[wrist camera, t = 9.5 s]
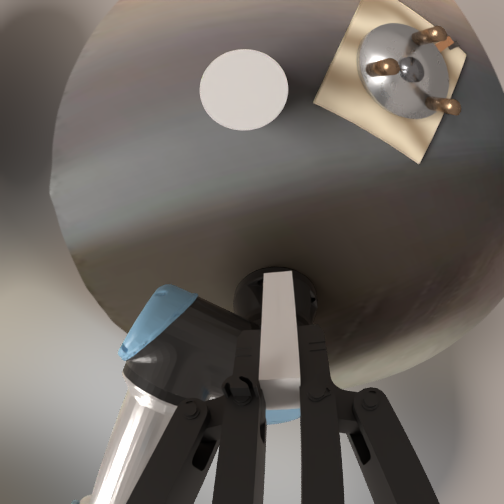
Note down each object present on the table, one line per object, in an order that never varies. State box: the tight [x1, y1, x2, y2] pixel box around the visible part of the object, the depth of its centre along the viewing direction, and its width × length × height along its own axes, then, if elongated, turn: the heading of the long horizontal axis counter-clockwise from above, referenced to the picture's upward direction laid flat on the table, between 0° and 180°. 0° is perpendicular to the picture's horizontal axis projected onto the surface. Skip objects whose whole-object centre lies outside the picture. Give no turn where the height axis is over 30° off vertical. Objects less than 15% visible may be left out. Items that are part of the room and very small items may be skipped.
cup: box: [200, 49, 288, 130], centre depth 27 cm, size 8×8×12 cm
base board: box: [313, 0, 466, 164], centre depth 27 cm, size 23×18×2 cm
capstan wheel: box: [356, 23, 461, 119], centre depth 22 cm, size 14×18×8 cm
